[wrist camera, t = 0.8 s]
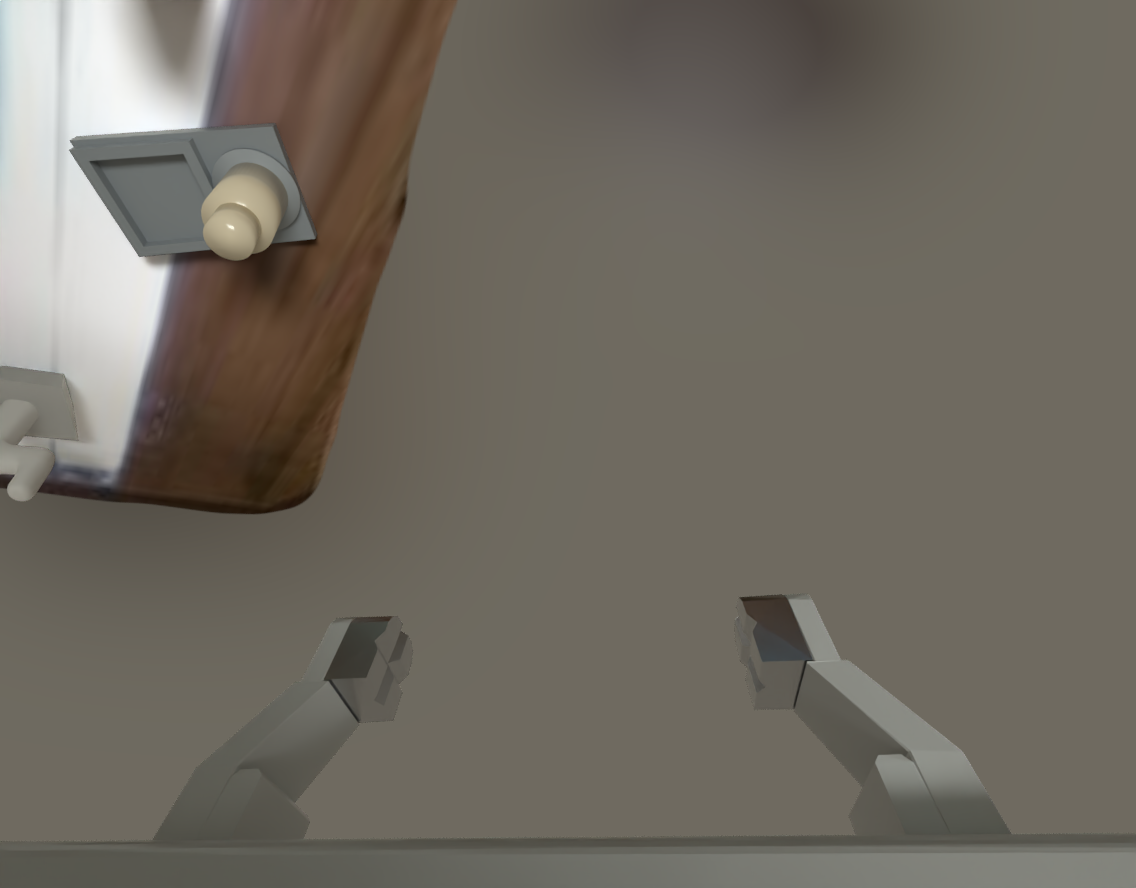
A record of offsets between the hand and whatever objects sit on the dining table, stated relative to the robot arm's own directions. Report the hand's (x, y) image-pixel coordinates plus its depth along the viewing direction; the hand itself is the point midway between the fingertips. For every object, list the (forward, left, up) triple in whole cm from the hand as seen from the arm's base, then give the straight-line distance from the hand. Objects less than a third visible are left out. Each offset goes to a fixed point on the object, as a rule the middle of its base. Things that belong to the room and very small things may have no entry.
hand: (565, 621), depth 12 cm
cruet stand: (-18, -11, -46) cm, 50 cm away
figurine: (-33, -37, -46) cm, 67 cm away
